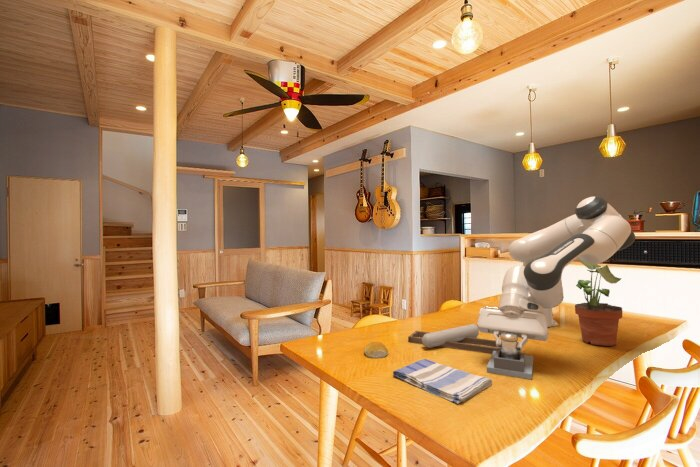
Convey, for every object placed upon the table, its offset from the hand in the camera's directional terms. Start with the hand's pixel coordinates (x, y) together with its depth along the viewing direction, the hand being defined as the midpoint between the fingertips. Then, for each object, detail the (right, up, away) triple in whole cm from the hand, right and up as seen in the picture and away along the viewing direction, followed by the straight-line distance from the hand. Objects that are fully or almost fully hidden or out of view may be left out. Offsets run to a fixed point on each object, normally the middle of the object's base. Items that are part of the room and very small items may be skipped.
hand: (508, 347), depth 103 cm
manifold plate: (+2, -7, +4) cm, 8 cm away
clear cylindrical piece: (0, -5, 0) cm, 5 cm away
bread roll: (-39, -9, +18) cm, 44 cm away
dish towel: (-22, -8, -5) cm, 24 cm away
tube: (-10, -7, +26) cm, 29 cm away
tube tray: (-9, -7, +25) cm, 28 cm away
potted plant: (+44, -6, +22) cm, 49 cm away
